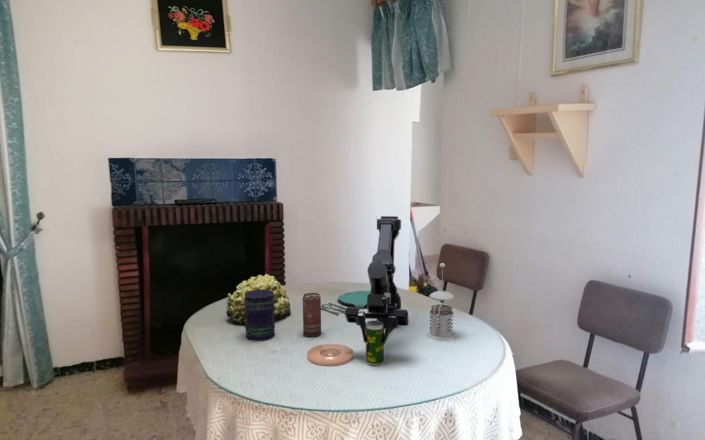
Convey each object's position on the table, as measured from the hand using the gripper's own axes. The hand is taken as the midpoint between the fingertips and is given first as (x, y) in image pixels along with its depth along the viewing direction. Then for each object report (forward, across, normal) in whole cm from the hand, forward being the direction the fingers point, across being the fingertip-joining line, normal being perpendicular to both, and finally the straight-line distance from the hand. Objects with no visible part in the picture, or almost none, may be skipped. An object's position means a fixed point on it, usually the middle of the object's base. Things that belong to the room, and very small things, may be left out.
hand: (374, 342), depth 145 cm
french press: (-14, +19, +24) cm, 33 cm away
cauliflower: (-21, -50, +31) cm, 62 cm away
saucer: (+2, -14, +7) cm, 16 cm away
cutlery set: (-36, -17, +46) cm, 61 cm away
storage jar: (-7, -41, +16) cm, 45 cm away
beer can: (+4, 0, +6) cm, 7 cm away
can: (-10, -24, +20) cm, 33 cm away
